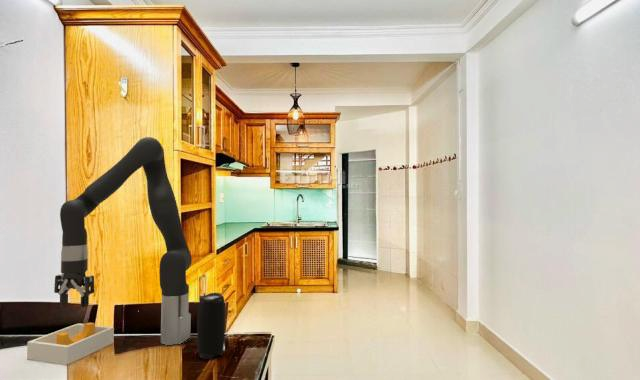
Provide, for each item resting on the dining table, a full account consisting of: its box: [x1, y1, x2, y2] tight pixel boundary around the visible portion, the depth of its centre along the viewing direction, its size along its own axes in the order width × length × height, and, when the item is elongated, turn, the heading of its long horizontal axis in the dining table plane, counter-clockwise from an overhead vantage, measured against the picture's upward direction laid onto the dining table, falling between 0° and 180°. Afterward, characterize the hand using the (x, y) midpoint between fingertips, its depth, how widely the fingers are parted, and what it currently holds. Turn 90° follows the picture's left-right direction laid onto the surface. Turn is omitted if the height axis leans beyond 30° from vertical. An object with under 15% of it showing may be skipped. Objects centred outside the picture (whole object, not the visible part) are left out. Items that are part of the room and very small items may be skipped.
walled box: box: [26, 323, 115, 366], centre depth 121 cm, size 16×18×6 cm
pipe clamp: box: [56, 322, 96, 346], centre depth 121 cm, size 12×4×6 cm, turn 166°
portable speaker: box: [196, 292, 226, 360], centre depth 119 cm, size 9×9×20 cm
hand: (74, 306), depth 121 cm, fingers open, 8 cm apart
